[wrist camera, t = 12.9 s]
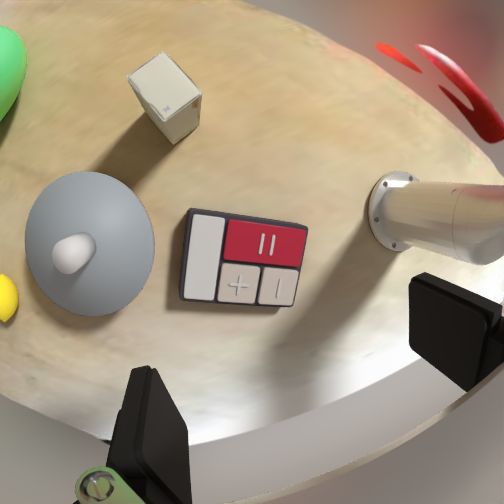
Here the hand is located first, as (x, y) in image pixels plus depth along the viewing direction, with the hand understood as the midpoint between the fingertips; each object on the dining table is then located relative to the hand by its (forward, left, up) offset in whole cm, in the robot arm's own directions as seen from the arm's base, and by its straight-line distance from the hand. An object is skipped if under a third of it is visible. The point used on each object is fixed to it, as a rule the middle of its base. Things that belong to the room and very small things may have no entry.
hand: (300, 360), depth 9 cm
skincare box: (+2, -16, -30) cm, 34 cm away
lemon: (+33, -1, -30) cm, 44 cm away
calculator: (-2, +4, -30) cm, 31 cm away
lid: (+15, -4, -24) cm, 28 cm away
